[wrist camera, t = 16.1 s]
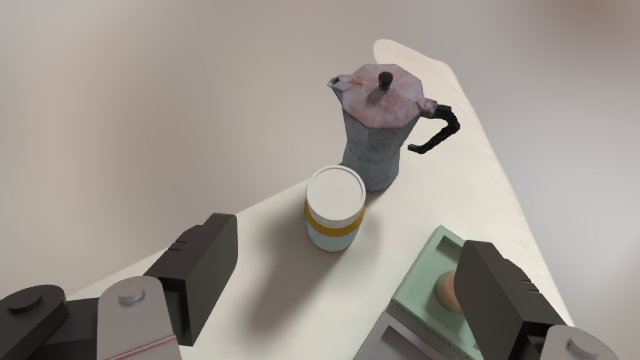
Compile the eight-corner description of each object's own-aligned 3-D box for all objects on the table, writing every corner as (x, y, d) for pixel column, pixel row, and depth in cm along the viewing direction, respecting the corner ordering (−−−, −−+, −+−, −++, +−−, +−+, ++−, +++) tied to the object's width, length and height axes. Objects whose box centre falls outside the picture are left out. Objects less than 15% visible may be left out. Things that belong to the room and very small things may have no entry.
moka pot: (334, 129, 53) (340, 29, 34) (425, 154, 50) (484, 62, 32) (316, 178, 49) (312, 96, 31) (413, 207, 47) (472, 138, 29)
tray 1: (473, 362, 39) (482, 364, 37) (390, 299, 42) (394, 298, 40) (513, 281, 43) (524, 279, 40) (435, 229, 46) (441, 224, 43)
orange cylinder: (463, 321, 40) (504, 323, 31) (427, 295, 41) (457, 289, 32) (481, 287, 42) (526, 279, 32) (446, 263, 43) (480, 249, 34)
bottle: (363, 244, 45) (380, 212, 31) (316, 259, 44) (313, 233, 30) (346, 200, 47) (356, 153, 34) (302, 214, 47) (293, 171, 33)
